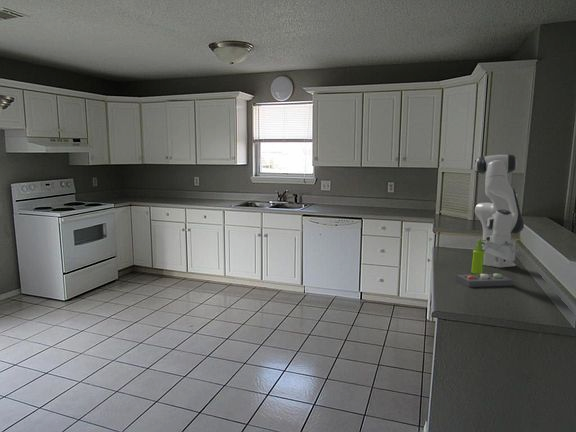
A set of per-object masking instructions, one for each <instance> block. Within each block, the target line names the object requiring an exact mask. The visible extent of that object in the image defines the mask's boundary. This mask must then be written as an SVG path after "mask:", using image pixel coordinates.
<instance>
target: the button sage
mask: <svg viewBox="0 0 576 432" xmlns="http://www.w3.org/2000/svg"><path fill="white" fill-rule="evenodd" d="M492 274H493V277H494V278H496V279H497V278H501V277H502V276H503V275H502V274H501V273H497V272H496V273H492Z"/></svg>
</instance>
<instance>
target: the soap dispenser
mask: <svg viewBox="0 0 576 432" xmlns="http://www.w3.org/2000/svg"><path fill="white" fill-rule="evenodd" d="M482 239H483V238H482ZM482 239H479V238H478V239H476V241H477V244H476V246H475V249H474V250H473V251H472V259H471V260H472V261H471V270H470V273H471V274H483V267H484V265H483V260H484V251H482V245H481V242H482V241H485V242H486V240H482Z"/></svg>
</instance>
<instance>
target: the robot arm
mask: <svg viewBox="0 0 576 432" xmlns="http://www.w3.org/2000/svg"><path fill="white" fill-rule="evenodd" d="M517 166H518V160H517V158H516V156H515V155H514V154H509V153H508V154H495V155H494V154H493V155H485V156H484V155H483V156H478V157H477V158H476V161H475V166H474V167H475V170H476V172H477V173H478V174H480V175H481V174H482V175H484V174H485V179H484V182H485V185H484V186H485V187H484V188H485V189H484V190H485V191H484V193H485V196H486V197H487V198H489V199H490V201H491V202H479V203H477V204H476V206H475V208H474V215H475V216H476V218H478V219H479V220H478V221H480V223H481V226H482V240H486V242H485V241H481V245H482V251H484V260H483V266H488V267H495V268H506V267H507V268H508V267H516V264H515V262H514V261H515V260H516V248H515V245H514V244H513V243H512V242H511V238H512V234H515V235H517V234H519V233H521V232H522V231H523V229H524V228H525V227H524V226H525V222H524V219H523V217H522V213H521V209H520V205H519V201H518V196H517V193H516V190H515V188H513V187H512V186H511V184H510V183H509V180H508V174H509V173H512V172H514V171H515V170H516V169H517Z"/></svg>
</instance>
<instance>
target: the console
mask: <svg viewBox="0 0 576 432" xmlns="http://www.w3.org/2000/svg"><path fill="white" fill-rule="evenodd" d="M486 274H487V275H489V276H488V279H482V278H480V274H474V273H471V274H456V275H455V281H457V282H458V283H460V284H462V285H463V286H465V287H468V288H477V287H507V286H510V287H511V286H513V285H514V280H513V279H512V278H509V277H507V276H505V275H502V277H501V278H497V279H496V278H494V277H493V274H494V273H486ZM467 276H474V277H475V279H468V278H467Z"/></svg>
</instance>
